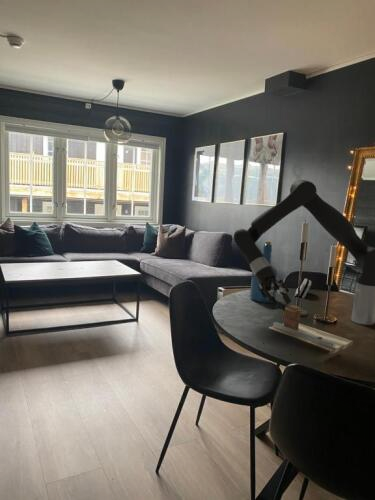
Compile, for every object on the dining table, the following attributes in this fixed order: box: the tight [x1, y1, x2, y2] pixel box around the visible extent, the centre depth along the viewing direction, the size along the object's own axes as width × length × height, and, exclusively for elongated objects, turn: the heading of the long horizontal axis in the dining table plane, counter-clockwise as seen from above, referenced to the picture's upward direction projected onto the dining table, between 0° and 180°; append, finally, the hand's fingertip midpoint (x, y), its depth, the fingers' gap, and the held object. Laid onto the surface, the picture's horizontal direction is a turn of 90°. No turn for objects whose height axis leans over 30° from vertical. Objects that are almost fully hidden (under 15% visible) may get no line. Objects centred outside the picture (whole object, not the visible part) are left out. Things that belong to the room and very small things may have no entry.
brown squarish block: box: [283, 304, 302, 330], centre depth 147 cm, size 4×4×9 cm
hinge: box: [294, 278, 312, 299], centre depth 212 cm, size 17×5×10 cm, turn 161°
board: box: [268, 322, 354, 356], centre depth 144 cm, size 16×26×2 cm, turn 41°
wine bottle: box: [249, 241, 279, 304], centre depth 193 cm, size 14×13×30 cm
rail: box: [272, 321, 335, 349], centre depth 140 cm, size 2×25×2 cm, turn 41°
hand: (283, 304), depth 150 cm, fingers open, 8 cm apart
